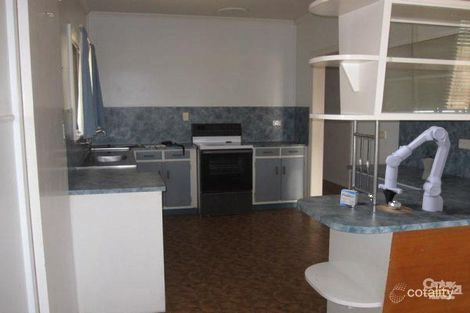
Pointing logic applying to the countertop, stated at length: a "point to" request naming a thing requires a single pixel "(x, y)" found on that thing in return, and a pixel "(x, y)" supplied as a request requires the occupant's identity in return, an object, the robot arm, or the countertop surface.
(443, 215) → the countertop surface
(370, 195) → the dial gauge
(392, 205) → the metal cover
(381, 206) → the turntable
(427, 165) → the coffeepot
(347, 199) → the medicine box
